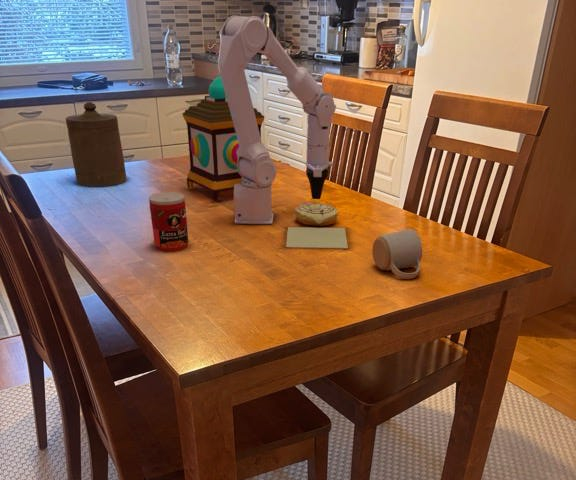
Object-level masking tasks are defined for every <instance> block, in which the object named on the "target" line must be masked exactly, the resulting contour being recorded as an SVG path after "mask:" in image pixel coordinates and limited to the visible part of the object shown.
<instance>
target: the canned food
mask: <svg viewBox="0 0 576 480" xmlns="http://www.w3.org/2000/svg"><path fill="white" fill-rule="evenodd" d="M148 203H149V211H150V219H151V220H150V221H151V227H152V235H153V242H154V246H155V248H156V249H157V250H159V251H163V252H178V251H181V250H184V249H186V248H187V247H188V245H189V233H188V221H187V209H186V198H185V195H184V194H182V193H180V192H176V191H162V192H156V193H153V194H151V195H149V198H148Z"/></svg>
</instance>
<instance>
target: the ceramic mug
mask: <svg viewBox="0 0 576 480" xmlns="http://www.w3.org/2000/svg"><path fill="white" fill-rule="evenodd" d="M371 251H372V258H373V262H374V265H375V266H376V267H377V268H378V269H379V270H381V271H391V272H392V273H393V274H394V275H395V276H396V277H398V278H400V279H404V280H411V279H415V278H416V277H417V276H418V275H419V273H420V270H421V261H422V257H423V244H422V240H421V237H420V236H419V233H417V231H416V230H415V229H413V228H406V229H403V230H399V231H394V232H390V233H385V234H382V235H380V236H378V237H376V238H375V239H374V242H373V243H372V250H371ZM414 267H415V268H416V270H415V271H413V272H403V271H401V269H408V268H414Z"/></svg>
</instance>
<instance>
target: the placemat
mask: <svg viewBox="0 0 576 480" xmlns="http://www.w3.org/2000/svg"><path fill="white" fill-rule="evenodd" d="M285 248H287V249H334V250H335V249H336V250H337V249H339V250H342V249H343V250H348V249H349V247H348V240H347V234H346V227H313V226H312V227H309V226H307V227H306V226H287V233H286V243H285Z"/></svg>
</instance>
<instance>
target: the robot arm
mask: <svg viewBox="0 0 576 480" xmlns="http://www.w3.org/2000/svg"><path fill="white" fill-rule="evenodd" d="M219 37H220V45H219V51H218V61H217V67H218V72H219V75H220V76H219V77H221V79H222V83H223V87H224V90H225V94H226V98H227V102H228V105H229V109H230V113H231V116H232V120H233V124H234V128H235V131H236V135H237V139H238V142H239V148H238V150H237V151H236V153H237V157H238V161H237V170H238V173H239V174H240V176H242V183H241V184H235V185H234V190H233V214H234V224H237V225H238V224H239V225H241V224H242V225H244V224H247V225H273V221H274V216H275V213H274V212H272V186H273V185H272V183H273V182H274V181H275V180H276V176H277V166H276V163H275V162H274V161H273V160H272V159H271V156H270V153H269V150H268V149H267V147H266V146H265V145H264V143H263V142H262V136H261V137H260V133H259V129H258V125H257V121H256V117H255V113H254V109H253V108H254V105H253V101H252V97H251V93H250V88H249V84H248V80H247V76H246V73H245V71H246V68H247V66H248V64H249V63H250V61H251V60H252V59H253V58H254V57H255V56H256V55H257V54H258V53H260V54H263V55H264V56H265V58H267V60H268V61H269V62H270V63H271V64H272V65H274V67H275V68H276V69H277V70H278V71H279V72H280V73H281V74H282V75H283V76H284V77H285V78H286V79H285V80H286V81H285V83H286V84H285V85H286V87H287V89H289V91H290V92H291V93H292V94H293V95H294V97H296V99H297V100H298V101H299V102H300V103H301V105H302V110H303V112H304V113H305V114H306V115H307V118H306V119H307V120H306V157H305V158H306V160H305V167H307V168H308V169H306V170H305V172H306V173H305V175H306V177H307V179H308V181H309V182H308V183H309V187H310V194H311V199H312V200H321V198H322V193H323V188H324V184H325V181H326V179H327V177H328V176H329V171H328V170H329V169H328V167H333V166H334V162H333V161H329V159H330V158H329V157H330V133H331V124H332V119H333V116H334V114H335V112H336V109H337V105H336V104H335V101H334V98H333V96H332V95H331V94H330V93H328V92H324V86H323V85H322V84H320V83H318V82H317V81H316V80H315V78H314V77H313V76H312V73H313V72H312V70H311V69H310V68H306V67H305V66H297V65H296V63H295V62H294V60H293V59H292V58H291V56H290V55H289V54H288V52H286V51H287V50H285V48H284V47H283V46H282V45H281V43H280V41H279V40H278V39H277V37H276V36H275V34H274V32H273V30H272V29H271V28H270V27H269V26H268V25H266V23H265V21H264V20H263V19H262V18H260V16H256V15H252V16H241V15H231V16H229V17H228V18H227V19H226V20H225V21H224V24H223V25H222V27H221V29H220V31H219Z"/></svg>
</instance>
